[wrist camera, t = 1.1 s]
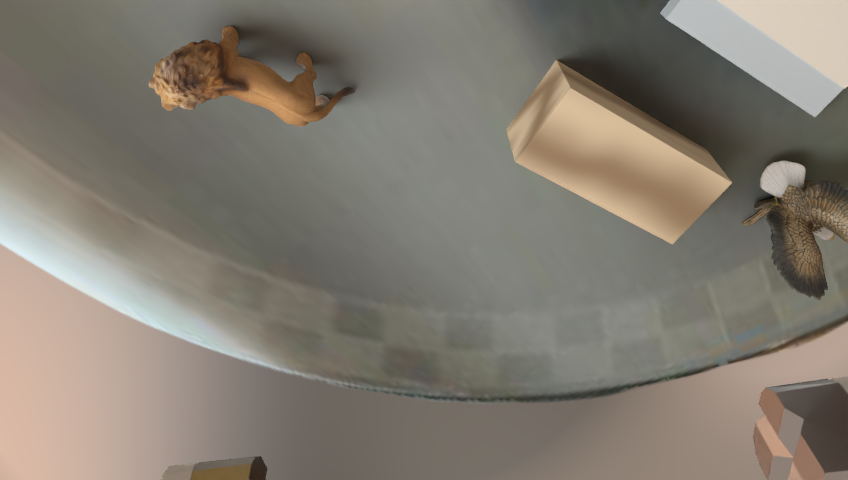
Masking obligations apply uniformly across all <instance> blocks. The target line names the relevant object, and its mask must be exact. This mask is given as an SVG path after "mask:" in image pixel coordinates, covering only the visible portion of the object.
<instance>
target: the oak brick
mask: <svg viewBox="0 0 848 480" xmlns="http://www.w3.org/2000/svg"><path fill="white" fill-rule="evenodd" d="M506 130H507V134H508V137H509V141H510V145H511V148H512V152H513V155H514V159H515V162H517V163H518V164H520V165H522V166H524V167H526V168H528V169H530V170H532V171H534V172H536V173H537V174H539V175H541V176H543V177H545V178H547V179H549V180H551V181H553V182H555V183H557V184H558V185H560V186H562V187H564V188H566V189H568V190H570V191H572V192H574V193H576V194H577V195H579V196H581V197H583V198H585V199H587V200H589V201H591V202H593V203H595V204H597V205H598V206H600V207H602V208H604V209H606V210H608V211H610V212H612V213H614V214H616V215H618V216H619V217H621V218H623V219H625V220H627V221H629V222H631V223H633V224H635V225H637V226H638V227H640V228H642V229H644V230H646V231H648V232H650V233H652V234H654V235H656V236H658V237H659V238H661V239H663V240H665V241H667V242H669V243H671V244H673V243H674V242H675V241H676V240H677V239H678V238H679V237H680V236H681V235H682V234H683V233H684V232H685V231H686V230H687V229H688V228H689V227H690V226H691V225H692V223H693V222H694V221H695V220H696V219H697V218H698V217H699V216H700V215H701V214H702V213H703V212H704V211H705V210H706V209H707V208H708V207H709V206H710V205H711V204H712V203H713V202H714V201H715V200H716V199H717V198H718V197H719V196H720V195H721V194H722V193H723V192H724V191H725V190H726V189H727V188H728V187H729V186H730V185H731V184H732V182H731V180H730V179H729V178H728V177H727V175H726V174H725V173H724V171H723V170H722V169H721V168H720V166H719V165H718V164H717V162H716V161H715V160H714V158H713V157H712V156H711V155H710V153H709V152H708V151H707V150H706V149H705V148H703V147H701V146H700V145H698V144H696V143H695V142H693V141H691V140H690V139H688V138H686V137H685V136H683V135H681V134H680V133H678V132H676V131H674V130H673V129H671V128H669V127H668V126H666V125H664V124H663V123H661V122H659V121H658V120H656V119H654V118H653V117H651V116H649V115H648V114H646V113H644V112H643V111H641V110H639V109H638V108H636V107H634V106H633V105H631V104H629V103H628V102H626V101H624V100H623V99H621V98H619V97H618V96H616V95H614V94H613V93H611V92H609V91H608V90H606V89H604V88H603V87H601V86H599V85H597V84H596V83H594V82H592V81H591V80H589V79H587V78H586V77H584V76H582V75H581V74H579V73H577V72H576V71H574V70H572V69H571V68H569V67H567V66H566V65H564V64H562V63H561V62H559V61H557V60H556V61H555V62H554V64H553V65H552V67H551V68H550V69H549V71H548V72H547V74H546V75H545V76H544V78H543V79H542V81H541V82H540V83H539V85H538V86H537V88H536V89H535V90H534V92H533V93H532V95H531V96H530V97H529V99H528V100H527V102H526V103H525V104H524V106H523V107H522V108H521V110H520V111H519V113H518V114H517V115H516V117H515V118H514V120H513V121H512V122H511V124H510V125H509V127H508V128H507V129H506Z"/></svg>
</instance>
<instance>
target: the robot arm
mask: <svg viewBox="0 0 848 480" xmlns="http://www.w3.org/2000/svg"><path fill="white" fill-rule="evenodd" d="M759 405H760V407H761V409H762V410H763V412H764V415H763V416H762V417H761V418H760V419H759V420H758V421H756V422H755V427H754V435H753V439H754V445H755V451H756V455H757V458H758V461H759V464H760V466H761V469H762V471H763V472H764V474H765V476H766V478H767V480H848V377H842V378H834V379H830V380H829V379H822V380H816V381H808V382H802V383H795V384H788V385H781V386H774V387H767V388H765V389H764V390H763V391H762V393H761V396H760V401H759ZM266 474H267V466H266V465H265V463H264V461H263V459H262V457H261V456H258V457H257V456H256V457H247V458H237V459H228V460H219V461H209V462H199V463H191V464H183V465H175V466H169V467H168V469H167V470H166V471H165V473H164V474H163V476H162V477H161V480H266Z"/></svg>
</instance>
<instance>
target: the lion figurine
mask: <svg viewBox="0 0 848 480" xmlns="http://www.w3.org/2000/svg"><path fill="white" fill-rule="evenodd" d="M222 37H223V38H224V39H223V40H221V42H220V43H219V44H218V43H215V42H213V43H212V42H211V41H208V40H202V41H201V42H199V43H197V42H191V43H189V44H188V45H186V46H183V47H181V48H180V49H178V50H174V51H173V52H172V53H171V54H170V55H169V56H167V57H166V58H165V59H161V60H160V61H159V62H158V63H157V64H156V65H155V72H154V74H153V79H151V81H150V82H149V86H150V87H152V88H153V89H155V91H156V93H157V94H159V95H160V96H161V101H162V106H163V107H164V108H165V109H166V110H169V111H170V110H173V109H174V108H177V107H178V106H180V107H182V108H183V109H191V110H193V109H194V108H195V105H197V104H200V103H204V102H205V101H207V100H210V99H213V98H214V99H216V98H218V97H219V96H227V95H232V96H234V97H236V98H239V99H241V100H243V101H246V102H249V103H252V104H255V105H259V106H262V107H265V108H267V109H269V110H271V111H272V112H274V113H275V114H276V115H277V116H278V117H280V118H281V119H282V120H283V121H284V122H286V123H288V124H291V125H296V126H305V125H306V124H308V122H314V121H318V120H320V119H322V118H324V117H325V116H327V115H328V113H329V112H330V111H331V110H332V108H333V107H334V106H335V104H336V103H337V102H338V101H339V100H340V99H341V98H342V97H344V96H346V95H348V94H352V93H354V92H355V88H350V87H346V88H344V89H342V90H341V91H339V92H338V93H337V94H336V95H335V96H334V97H333V98H332V99H331V100H329V99H328V98H327V97H326V96H324V95H318V96H317V97H316V98H315V91H314V87H313V81H314V80H316V78H317V76H316V73H315V71H314V68H313V64H312V60H311V58H310V56H309V55H308V54H307V53H305V52H301V53H299V54H298V55H297V58H296V63H297V64H298V65H299V66H301V67H302V68H304V69H305V72H304V73H302V74H299V75H297V76H296V77H295V79H294V80H293V81H292V82H287V81H285V80H284V79H283V78H282V77H280V76H279V75H278V74H277V73H276V72H275V71H273V70H272V69H271V68H270V67H268V66H266V65H264V64H262V63H260V62H258V61H255V60H251V59H248V58H244V57H240V56H239V52H238V50H237V45H238V44H239V36H238V33H237V31H236V29H235V28H234V27H232V26H227V27H225V28H224V29H223V30H222ZM315 103H316V106H315Z"/></svg>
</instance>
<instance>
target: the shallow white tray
mask: <svg viewBox="0 0 848 480" xmlns="http://www.w3.org/2000/svg"><path fill="white" fill-rule="evenodd" d="M660 13H661V14H662V15H663V16H664V17H665V18H666V19H667V20H668V21H670V22H671V23H673V24H674V25H676V26H677V27H679V28H680V29H682V30H684V31H685V32H687V33H688V34H690V35H691V36H693V37H694V38H696V39H697V40H699V41H700V42H702V43H703V44H705V45H706V46H708V47H709V48H711V49H712V50H714V51H715V52H717V53H718V54H720V55H721V56H723V57H724V58H726V59H727V60H729V61H730V62H732V63H733V64H735V65H737V66H738V67H740V68H741V69H743V70H744V71H746V72H747V73H749V74H750V75H752V76H753V77H755V78H756V79H758V80H759V81H761V82H762V83H764V84H765V85H767V86H768V87H770V88H771V89H773V90H774V91H776V92H777V93H779V94H780V95H782V96H783V97H785V98H786V99H788V100H790V101H791V102H793V103H794V104H796V105H797V106H799V107H800V108H802V109H803V110H805V111H806V112H808V113H809V114H811V115H812V116H814V117H816V116H817V115H818V114H819V113H820V112H821V111H822V110H823V109H824V108H825V107H826V106H827V105H828V104H829V103H830V102H831V101H832V100H833V99H834V98H835V97H836V96H837V95H838V94H839V93H840V92H841V91H842V90H843V89H845V88H846V87H847V86H848V0H670V1H669V2H668V3H667V5H666V6H665V7H664V8H663V10H662V11H661V12H660Z"/></svg>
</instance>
